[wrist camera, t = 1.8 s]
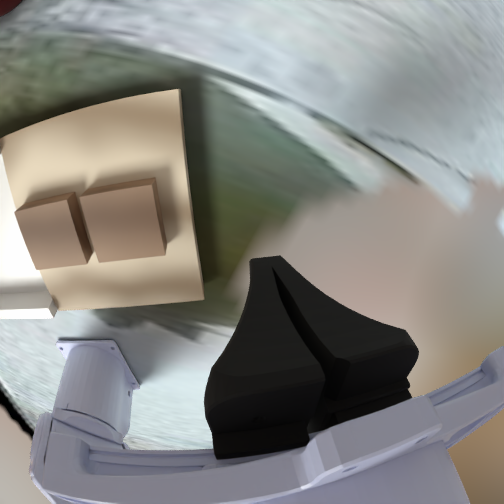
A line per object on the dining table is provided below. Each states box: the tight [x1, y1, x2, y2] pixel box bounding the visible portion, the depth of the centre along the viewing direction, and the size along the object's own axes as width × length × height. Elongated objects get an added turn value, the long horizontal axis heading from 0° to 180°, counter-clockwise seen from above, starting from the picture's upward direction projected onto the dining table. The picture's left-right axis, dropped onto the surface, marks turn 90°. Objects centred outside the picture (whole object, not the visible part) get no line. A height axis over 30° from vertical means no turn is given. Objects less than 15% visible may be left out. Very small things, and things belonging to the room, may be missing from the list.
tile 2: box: [14, 192, 93, 270], centre depth 17 cm, size 5×5×2 cm
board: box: [0, 89, 204, 311], centre depth 19 cm, size 16×14×2 cm
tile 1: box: [79, 177, 167, 263], centre depth 18 cm, size 5×5×2 cm
